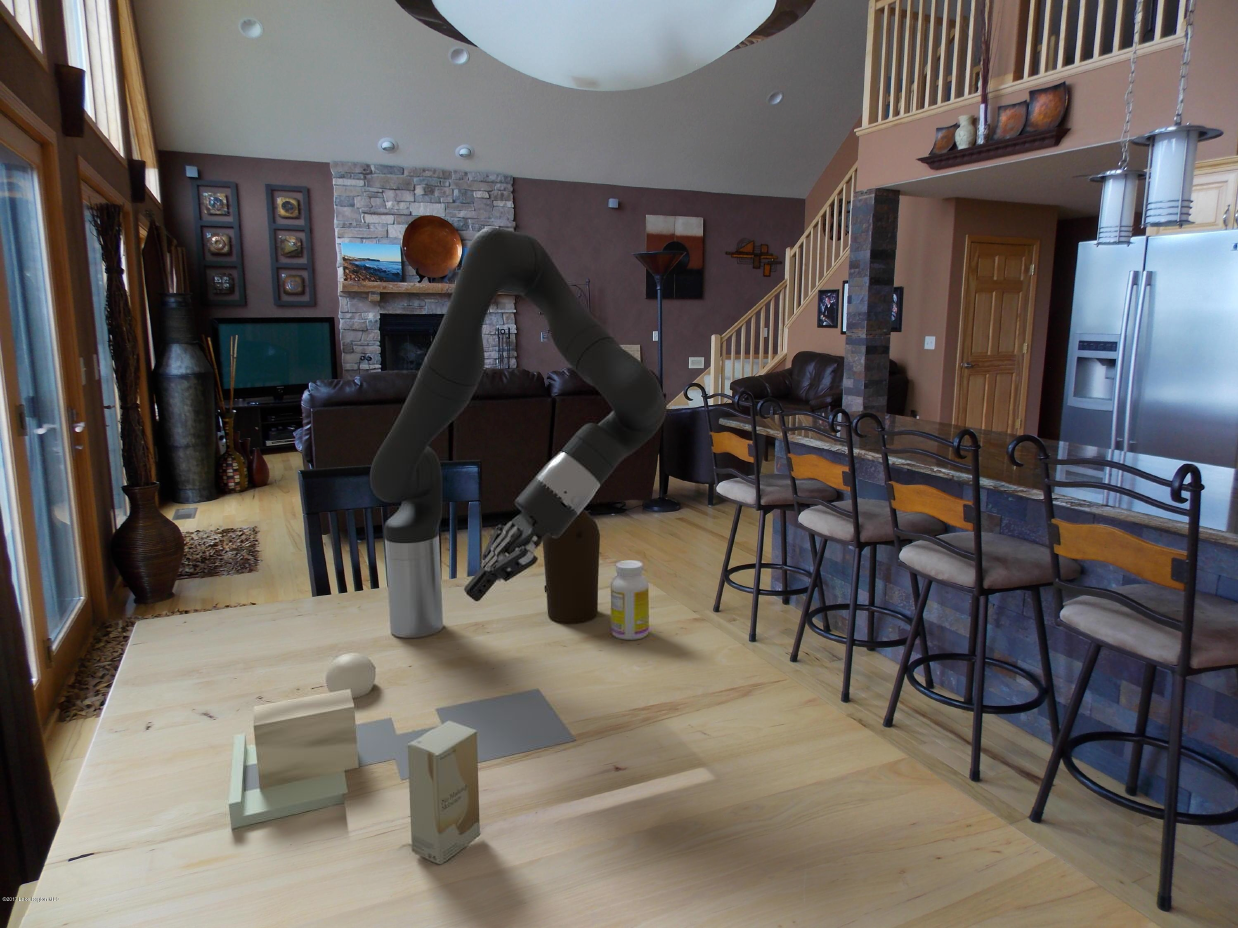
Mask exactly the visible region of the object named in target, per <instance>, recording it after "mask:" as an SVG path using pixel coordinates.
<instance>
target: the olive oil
mask: <svg viewBox="0 0 1238 928" xmlns="http://www.w3.org/2000/svg"><path fill="white" fill-rule="evenodd" d="M600 542H601V534H600V529H599V526H598V524H597V522H596V520H595V519H594V518H593V517H592V515H591V514H589V513H588V512H587V510H586V509H584V508H583V510H582V511H581V512H580V513H579V514H578V515H577V517H576V518H575V519H574V520H573V521H572V522H571V524H570V525H569V526H568V527H567V528H566V530H565V531H564V532H563V533H562V534H561V535H560V537H558V538H553V537H552V536H551V535H549V534H548V533H547V534H546V536H545V537H544V539H543V541H542V551H543V563H544V574H545V575H544V576H545V577H544V579H545V585H544V593H545V594H546V607H547V608H546V609H547V616H548V618H549V619H550V620H552V621H554V622H556V623H561V624H580V623H581V624H582V623H586V622H590V621H592V620H593V619H595V618H596V617H597V616H598V614H599V613H598V609H599V608H598V607H599V605H598V604H599V601H598V600H599V570H600V567H599V566H600V550H601V549H600V546H601V545H600V544H601V543H600Z"/></svg>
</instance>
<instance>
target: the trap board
mask: <svg viewBox="0 0 1238 928" xmlns="http://www.w3.org/2000/svg"><path fill="white" fill-rule="evenodd" d="M435 711H436V713H437V716H438V719H439V721H440V723H441V725H442V724H444V723H445V722H447V721H453V722H455V723H458V724H461V725H463V726H466V727H469V728H471V729H474V730H477V752H478V764H479V763H483V762H488V761H492V760H497V759H501V758H505V757H511V756H514V755H518V754H525V753H528V752H531V751H536V750H541V749H545V748H549V747H553V746H554V747H555V746H559V745H563V744H569V743H571V742H576V741H577V739H576V738H575V737H574V736H573V734H572V733H571V731H570V730H569V729H568V727H567V726H566V724H565V723H564V722H563V720H562V719H561V718H560V717H559V715H558V714H557V712H556V711H555V709H554V708H553V707H552V705H551V704H550V702H549V701H548V700H547V698H546V697H545V696H544V695H543V694H542V691H541V690H540V689H539V688H533V689H530V690H524V691H520V692H515V693H510V694H505V695H500V696H499V695H498V696H494V697H489V698H483V699H479V700H473V701H472V700H471V701H468V702H463V703H458V704H453V705H447V706H443V707H437V708H435ZM438 726H439V725H436V726H432V727H427V728H421V729H416V730H413V731H407V732H403V733H398V734H397V732H396V729H395V725H394V722H393V719H392V717H387V718H382V719H377V720H371V721H365V722H362V723H361V722H360V723H356V737H357V751H358V764H359V768H361V767H365V766H366V767H367V766H372V765H376V764H380V763H384V762H389V761H394V760H395V763H396V768H397V771H398V774H399V778H400V781H405V780H409V767H408V743H410V742H412V741H414V740H415V739H417V738H419V737H421V736H422V735H424V734H425V733H427V732H428V731H430V730H432V729H435V728H437V727H438ZM231 761H232V763H231V775H230V787H229V795H228V797H229V798H228V811H229V819H230V829H231V830H233V829H235V828H241V827H245V826H249V825H254V824H257V823H261V822H267V821H271V820H276V819H279V818H283V817H287V816H288V817H289V816H293V815H297V814H301V813H305V812H309V811H314V810H317V809H322V808H326V807H333V806H335V805H340V804H344V803H345V798H344V794H347V793H349V792H348V786H347V785H348V784H347V779H346V773H345V771H340V772H336V773H331V774H327V775H322V776H318V777H313V778H309V779H304V780H300V781H295V782H291V783H286V784H282V785H277V786H273V787H268V788H264V789H260V788H259V777H258V767H257V757H256V746H255V743H254V744H250V745H247V739H246V732H244V733H239V734H234V739H233V751H232V760H231Z"/></svg>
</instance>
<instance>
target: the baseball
mask: <svg viewBox="0 0 1238 928" xmlns="http://www.w3.org/2000/svg"><path fill="white" fill-rule="evenodd" d="M376 672H377V671H376V665H375V664H374V663H373V662H372V660H371V659H370V658H369V657H368V656H365V655H364V654H361V653H356V652H350V653H345V654H342V655H340V656H338V657H336V658H335V659H334V660H333V661H332V662H331V663H330V665H329V666H328V668H327V671H326V673H325V684H326V688H327V691H329V692H328V693H331V692H336V691H342V690H347V689H350V691H351V695H352V699H357V698H362V697H364V696H365V695H367V694H368V693H370V692H371V690H372V688H373V687H374V684H375V681H376V677H377V673H376Z"/></svg>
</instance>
